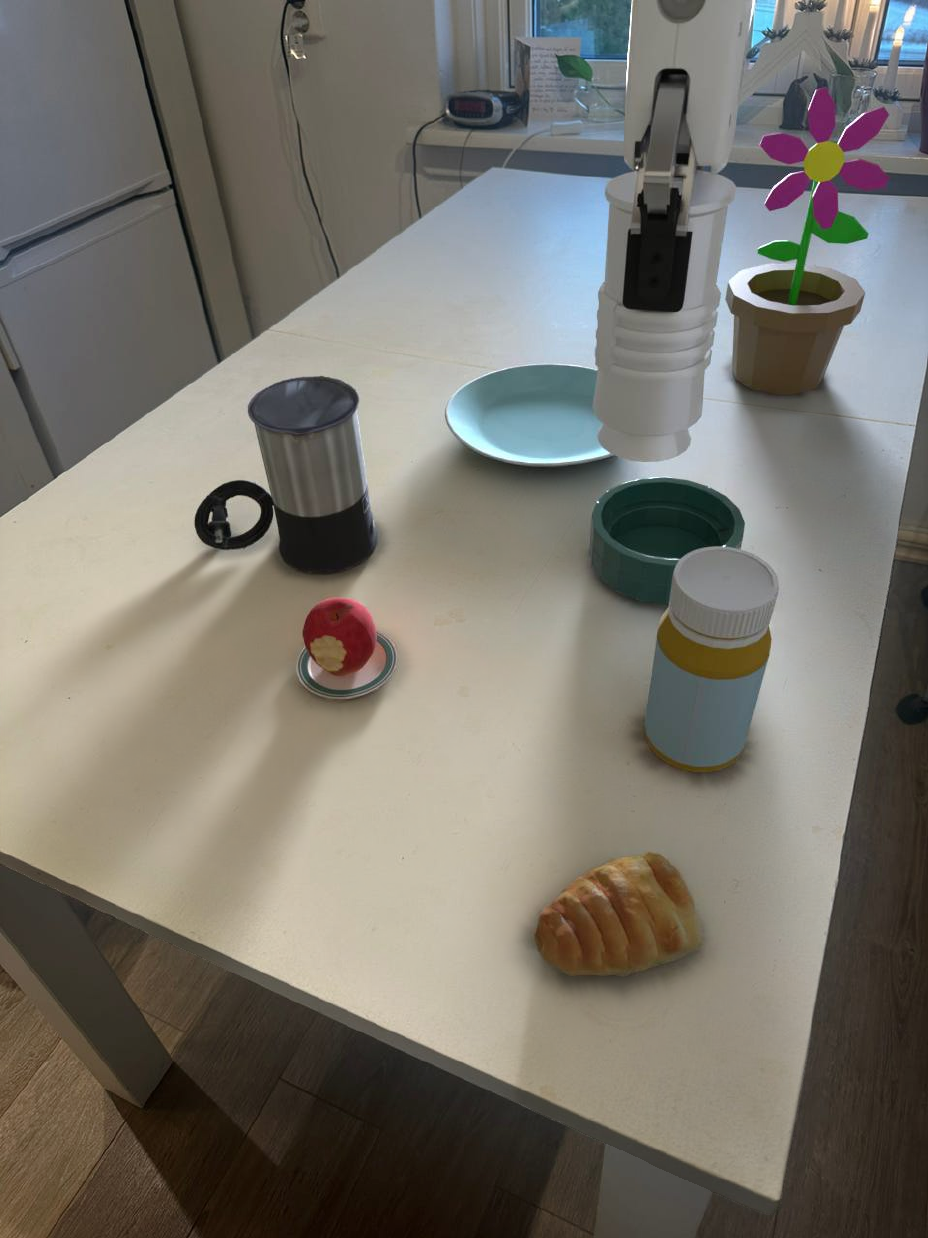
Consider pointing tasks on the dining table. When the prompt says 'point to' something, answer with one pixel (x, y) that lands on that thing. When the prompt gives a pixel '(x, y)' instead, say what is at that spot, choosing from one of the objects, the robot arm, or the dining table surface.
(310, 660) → the apple
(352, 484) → the milk frother
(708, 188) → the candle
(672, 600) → the bottle
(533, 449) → the plate
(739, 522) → the bowl
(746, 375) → the flowerpot
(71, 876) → the dining table surface
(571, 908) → the pastry
